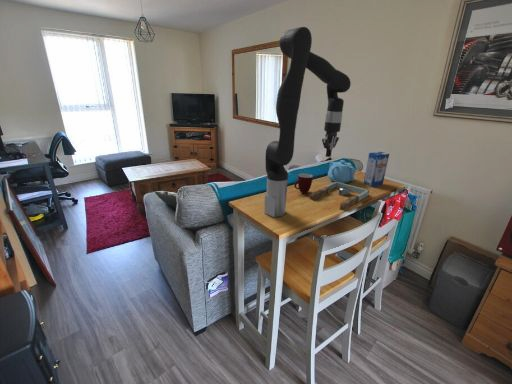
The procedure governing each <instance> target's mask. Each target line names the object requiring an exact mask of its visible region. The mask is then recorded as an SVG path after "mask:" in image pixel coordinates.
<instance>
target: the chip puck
mask: <svg viewBox="0 0 512 384" xmlns="http://www.w3.org/2000/svg"><path fill="white" fill-rule="evenodd" d="M338 189H339V190H338V195H339V196H343V197H349V196H350V194H351V191H350V190H351V189H350V188H348V187H340V188H338Z"/></svg>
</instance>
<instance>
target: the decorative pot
mask: <svg viewBox="0 0 512 384" xmlns="http://www.w3.org/2000/svg"><path fill="white" fill-rule="evenodd" d="M328 167H329V170H328V172H327V178H328V179H329V180H330V181H331V182H340V183H344V184H347V183H349V182H351V181H354V180H355V173H356V168H355V167H354V166H353V165H352V163H351V162H346V160H343V159H341V160H339V161H330V163H329V166H328Z"/></svg>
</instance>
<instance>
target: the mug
mask: <svg viewBox="0 0 512 384" xmlns="http://www.w3.org/2000/svg"><path fill="white" fill-rule="evenodd" d="M312 183H313V175H312V174H310V173H299V174H298V176H297V180H296V181H295V182H294V185H293V186H294V188H295V189H296V190H299V192H300V193H301V194H308V193H309V191H310V189H311V186H312ZM297 185H298V187H297Z"/></svg>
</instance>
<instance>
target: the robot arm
mask: <svg viewBox="0 0 512 384" xmlns="http://www.w3.org/2000/svg"><path fill="white" fill-rule="evenodd" d="M311 32H312V31H311V30H310V29H309V28H308V27H306V26H300V27H296V28H291V29H288V30H286V31H284V32H283V33H282V34H281V36H280V38H279V49H280V51H281V52H282V54H283V55H284V56H286V57H287V58H289V59H290V64H289V68H288V71H287V73H286V75H285V77H284V78H283V80H282V83H281V84H280V86H279V88H278V92H277V96H276V103H275V113H276V117H277V121H278V127H279V137H278V140H273V141H270V142H269V143H268V144H267V146H266V149H265V160H264V161H265V172H266V176H267V177H266V194H264V214H265V215H267V216H270V217H272V218H276V217H282V216H283V217H284V216H285V214H286V206H287V205H286V204H287V195H288V193H287V192H288V183H289V182H288V181H289V180H288V179H289V173H288V171H287V170H286V168H285V166H287V165H289V164H290V162H292V159H293V157H294V153H295V152H294V150H295V136H296V128H297V127H296V126H297V122H298V121H297V120H298V113H299V110H300V103H301V95H302V89H303V84H304V78H305V73H306V69H307V70H308V71H310V72H311V73H313V75H314V76H316V77H317V78H318V79H319V80H320V81H321V82H323V83H324V84H326V94H327V107H326V109H327V110H326V113H325V119H324V120H325V122H324V128H323V130H324V131H325V135H324V136H325V137H324V138H322V139H321V141H322V146H323V148H324V149H326V150H325V157H327V158H331V156H332V153H333V152H332V151H333V149H334V148H335V147H336V146H337V144H338V141H339V140H340V137H338V133H340V132H341V126H342V121H343V111H344V110H343V108H344V102H345V101H344V99H343V98H341V97H339V96H338V93H346V92H347V91H349V90H350V87H351V85H352V82H351V79H350V78H349V76H348V75H347V74H346V73H344V72H343V71H340V70H338V69H336V68H335V67H334V66H333V65H332V64H331V62H329V61H328V60H326V59H325V58H324V57H322V56H320V55H317V54H316V53H314V52H312V51H311V50H312V49H311V48H312V41H313V40H312V39H313V37H312V33H311Z"/></svg>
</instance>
